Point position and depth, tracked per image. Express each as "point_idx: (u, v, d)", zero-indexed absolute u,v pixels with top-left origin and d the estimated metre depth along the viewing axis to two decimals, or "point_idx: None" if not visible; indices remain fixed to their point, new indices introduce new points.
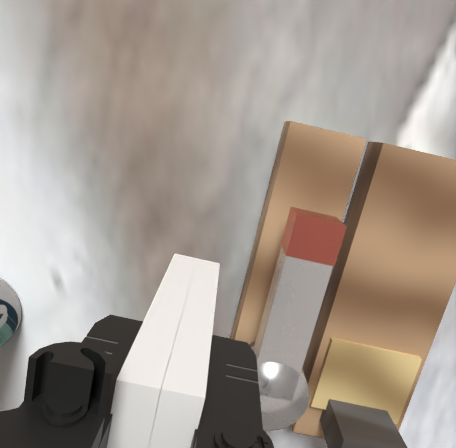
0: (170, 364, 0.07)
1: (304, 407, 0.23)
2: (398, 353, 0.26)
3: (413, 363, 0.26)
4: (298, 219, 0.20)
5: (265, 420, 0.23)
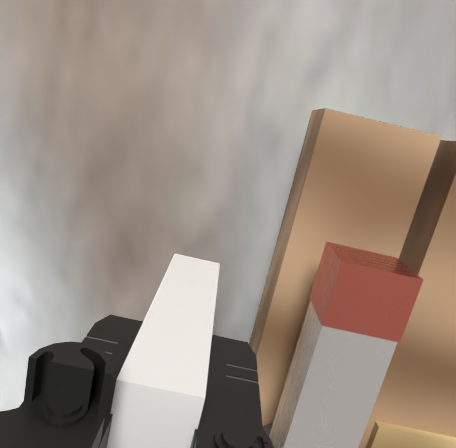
0: (170, 364, 0.07)
1: None
2: None
3: None
4: (344, 269, 0.12)
5: None
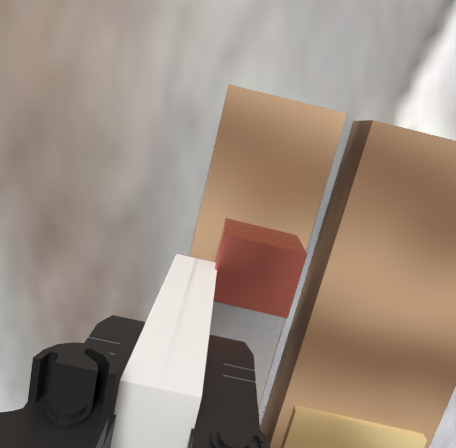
0: (167, 363, 0.07)
1: None
2: (392, 430, 0.18)
3: (414, 445, 0.18)
4: (226, 241, 0.12)
5: None
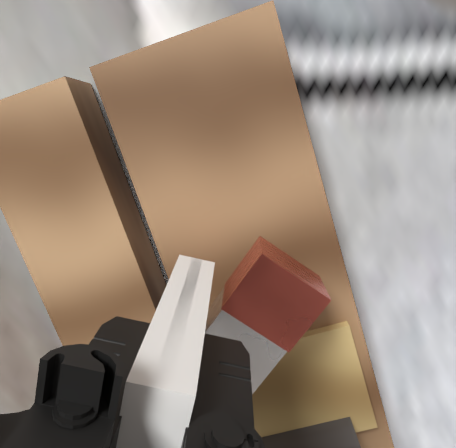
0: (161, 362, 0.07)
1: None
2: (311, 332, 0.16)
3: (340, 336, 0.16)
4: (261, 262, 0.12)
5: None
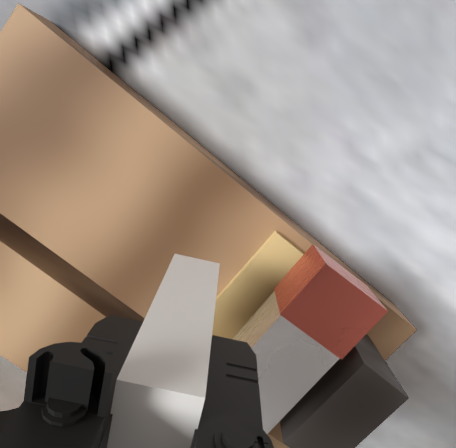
0: (170, 364, 0.07)
1: None
2: (251, 260, 0.16)
3: (276, 247, 0.16)
4: (324, 271, 0.12)
5: None
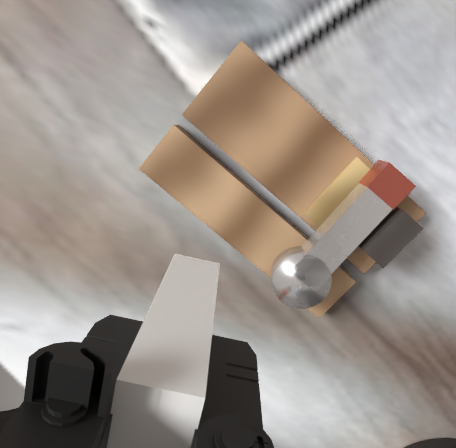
0: (170, 364, 0.07)
1: (320, 299, 0.30)
2: (343, 172, 0.32)
3: (357, 165, 0.31)
4: (388, 166, 0.28)
5: (289, 297, 0.30)
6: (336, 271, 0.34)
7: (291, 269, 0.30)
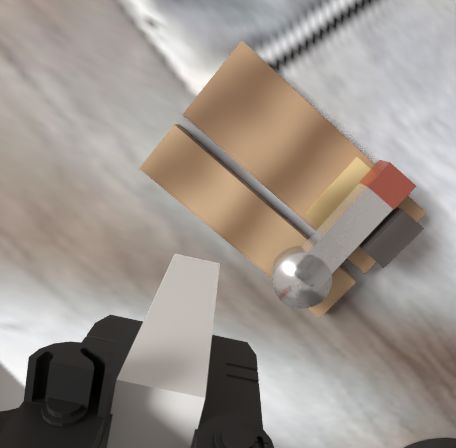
0: (170, 364, 0.07)
1: (320, 299, 0.30)
2: (343, 172, 0.32)
3: (357, 165, 0.31)
4: (389, 166, 0.28)
5: (290, 297, 0.30)
6: (336, 271, 0.34)
7: (291, 269, 0.30)
